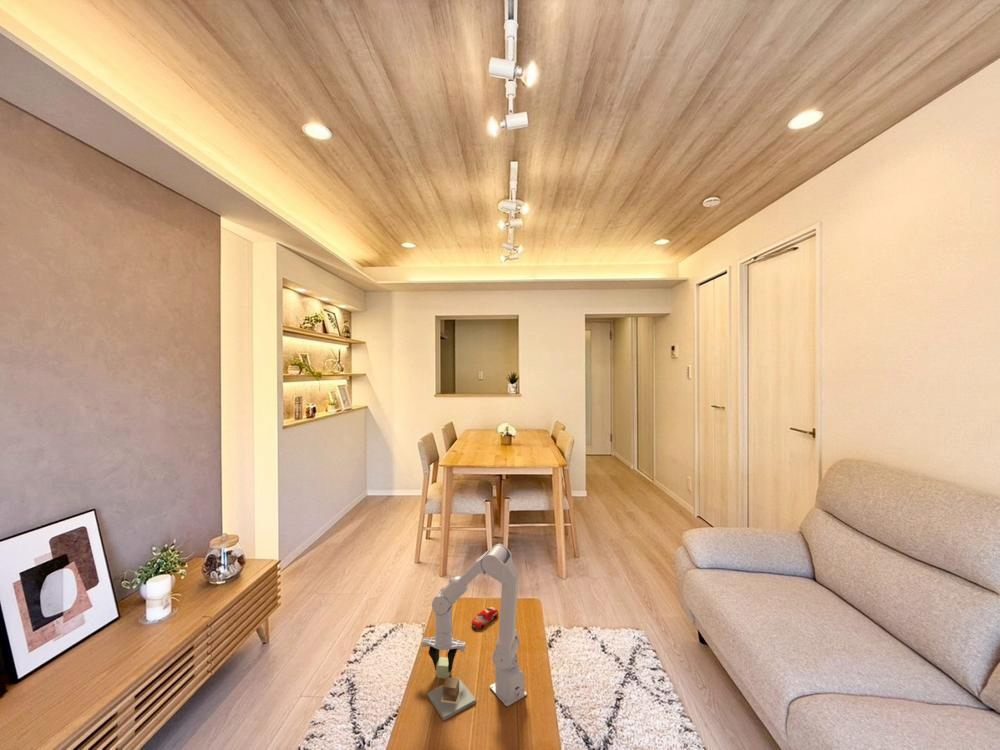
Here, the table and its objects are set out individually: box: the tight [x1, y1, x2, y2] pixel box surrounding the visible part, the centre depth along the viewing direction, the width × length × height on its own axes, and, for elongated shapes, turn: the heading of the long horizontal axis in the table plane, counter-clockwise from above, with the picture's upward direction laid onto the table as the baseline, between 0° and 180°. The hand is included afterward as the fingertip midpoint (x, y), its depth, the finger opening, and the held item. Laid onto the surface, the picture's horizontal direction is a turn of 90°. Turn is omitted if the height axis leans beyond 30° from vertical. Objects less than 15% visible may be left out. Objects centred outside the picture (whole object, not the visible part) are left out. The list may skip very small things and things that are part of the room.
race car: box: [471, 606, 499, 630], centre depth 161 cm, size 13×5×4 cm, turn 139°
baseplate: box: [426, 677, 477, 721], centre depth 121 cm, size 11×11×1 cm
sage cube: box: [435, 656, 451, 680], centre depth 132 cm, size 4×4×4 cm
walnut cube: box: [442, 676, 460, 702], centre depth 121 cm, size 4×4×4 cm
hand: (443, 669), depth 132 cm, fingers closed on sage cube, 4 cm apart
